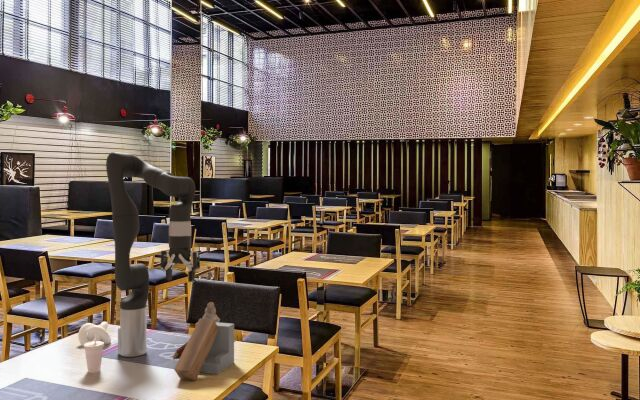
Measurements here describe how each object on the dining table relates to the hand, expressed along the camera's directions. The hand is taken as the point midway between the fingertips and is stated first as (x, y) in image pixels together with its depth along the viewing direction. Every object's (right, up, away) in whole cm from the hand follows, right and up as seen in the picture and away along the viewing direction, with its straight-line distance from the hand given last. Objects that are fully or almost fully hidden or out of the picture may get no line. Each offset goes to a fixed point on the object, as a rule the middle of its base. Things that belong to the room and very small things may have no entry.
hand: (180, 280), depth 175 cm
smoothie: (-28, -30, -5) cm, 41 cm away
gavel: (-1, -31, +20) cm, 37 cm away
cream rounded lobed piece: (-39, -30, +25) cm, 55 cm away
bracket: (+10, -30, +2) cm, 32 cm away
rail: (+8, -24, -4) cm, 26 cm away
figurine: (+3, -29, +26) cm, 39 cm away
